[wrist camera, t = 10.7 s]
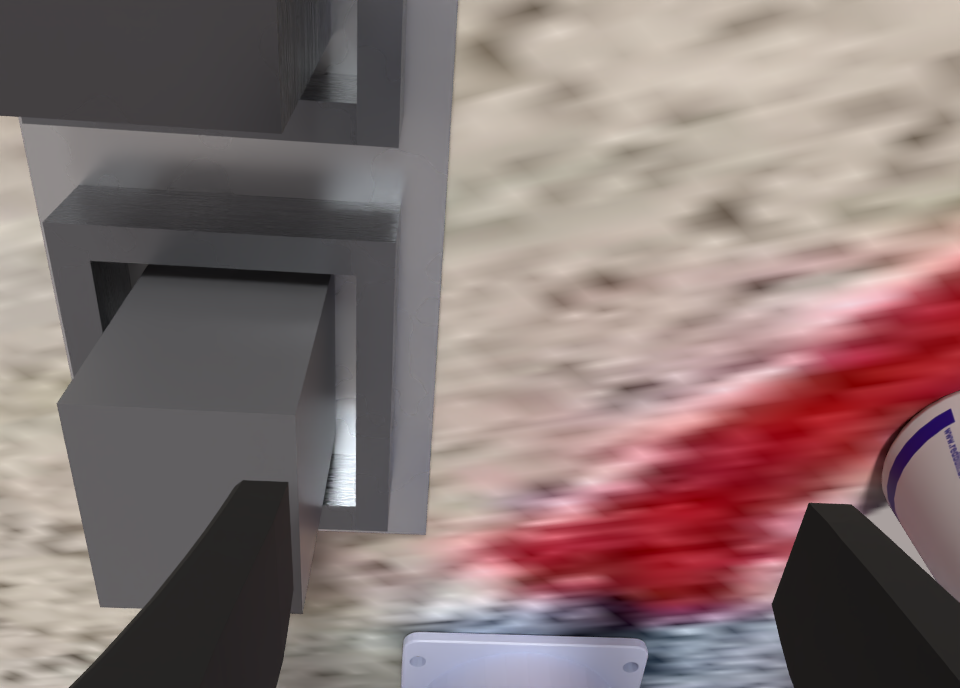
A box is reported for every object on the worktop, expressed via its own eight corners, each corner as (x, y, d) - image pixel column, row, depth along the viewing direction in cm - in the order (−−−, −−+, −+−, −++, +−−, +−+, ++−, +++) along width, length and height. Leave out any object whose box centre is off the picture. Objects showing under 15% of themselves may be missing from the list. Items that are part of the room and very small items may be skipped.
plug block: (335, 432, 23) (302, 613, 18) (179, 424, 22) (100, 606, 17) (334, 260, 20) (295, 415, 15) (157, 249, 20) (57, 403, 15)
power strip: (426, 510, 26) (418, 724, 20) (112, 498, 25) (7, 715, 19) (478, -352, 15) (496, -452, 9) (-60, -408, 15) (-412, -552, 9)
